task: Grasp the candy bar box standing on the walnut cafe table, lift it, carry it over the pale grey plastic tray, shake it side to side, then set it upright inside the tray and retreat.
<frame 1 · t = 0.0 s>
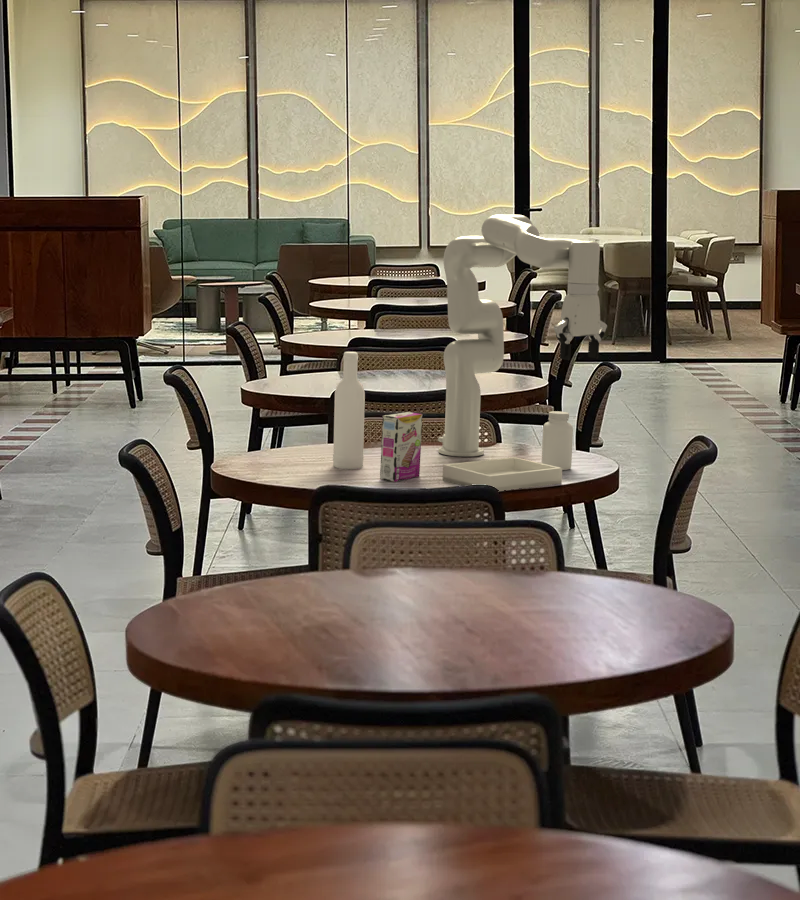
hand: (579, 358, 396), 31 cm above the table, tool pointing down, fingers open, 9 cm apart
bottle: (347, 467, 411), on the table
pill bottle: (556, 469, 418), on the table
tray: (502, 481, 396), on the table
candy bar box: (400, 479, 397), on the table
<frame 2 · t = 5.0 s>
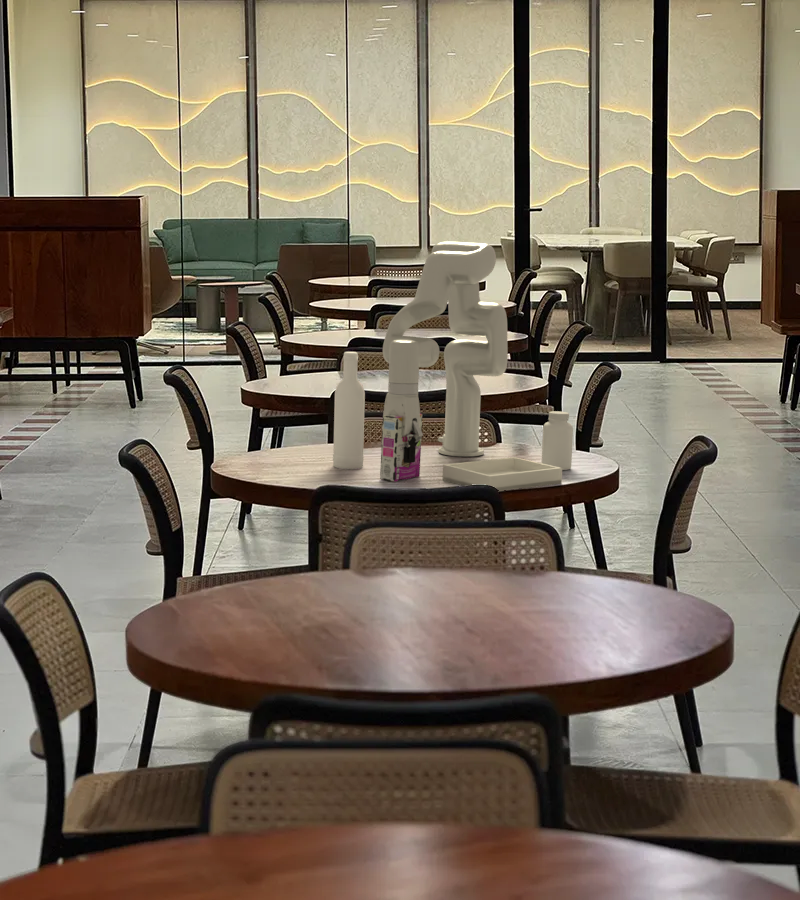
hand: (401, 459, 396), 5 cm above the table, tool pointing down, fingers closed on candy bar box, 6 cm apart
candy bar box: (400, 479, 397), on the table, touching gripper
everything else where it was.
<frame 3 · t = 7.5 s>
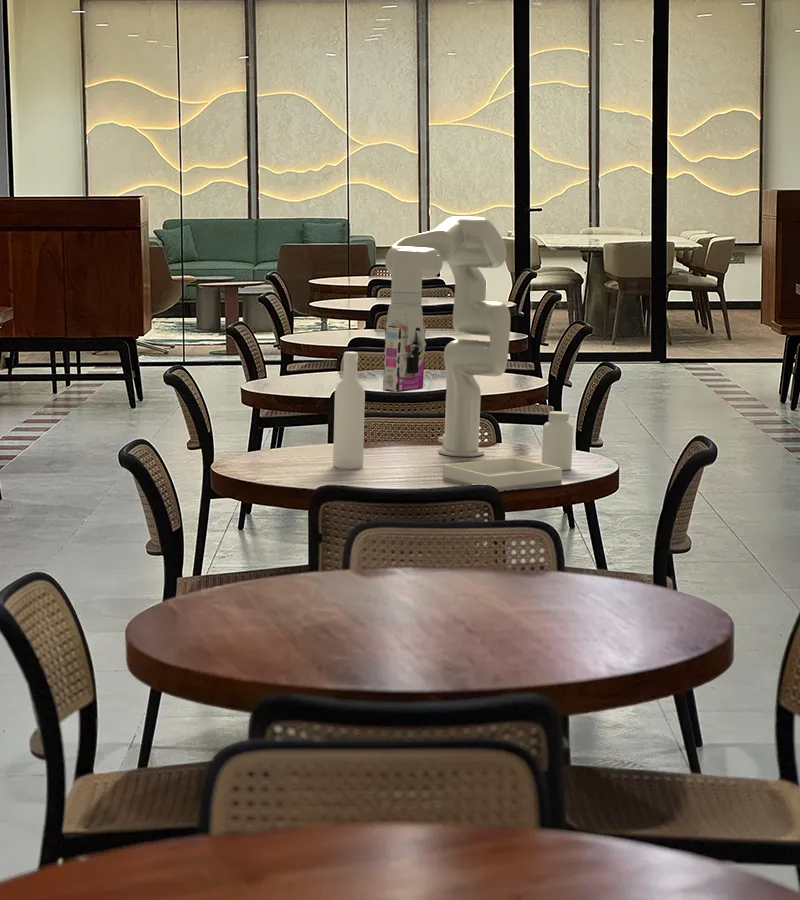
hand: (404, 370, 392), 27 cm above the table, tool pointing down, fingers closed on candy bar box, 6 cm apart
candy bar box: (403, 391, 393), point 22 cm above the table, touching gripper
everything else where it was.
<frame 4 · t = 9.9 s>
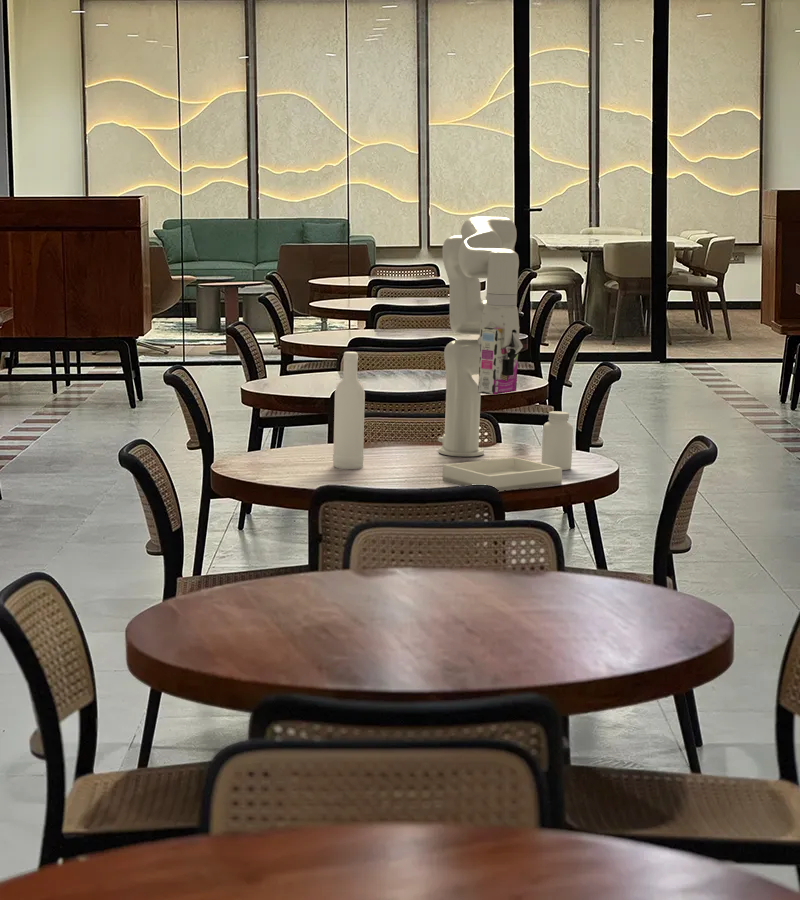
hand: (498, 373, 390), 28 cm above the table, tool pointing down, fingers closed on candy bar box, 6 cm apart
candy bar box: (497, 393, 391), point 23 cm above the table, touching gripper
everything else where it was.
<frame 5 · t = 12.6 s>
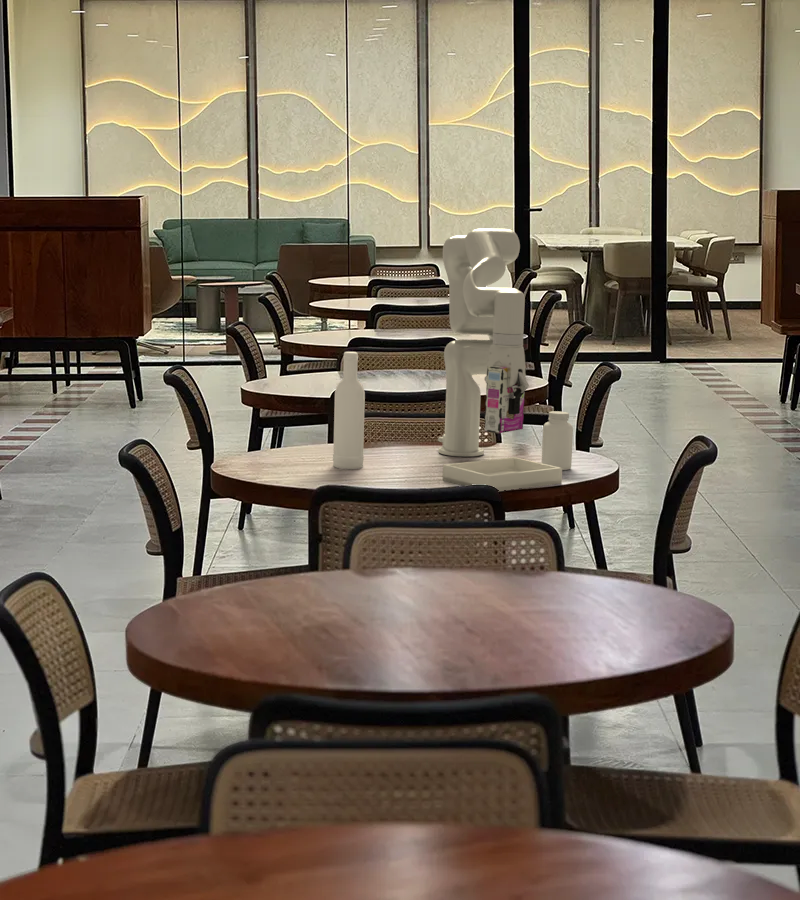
hand: (505, 411, 393), 18 cm above the table, tool pointing down, fingers closed on candy bar box, 6 cm apart
candy bar box: (504, 431, 394), point 13 cm above the table, touching gripper
everything else where it was.
when the fingers open (8 cm above the table, at t = 14.9 s): candy bar box drops 2 cm, resting on tray.
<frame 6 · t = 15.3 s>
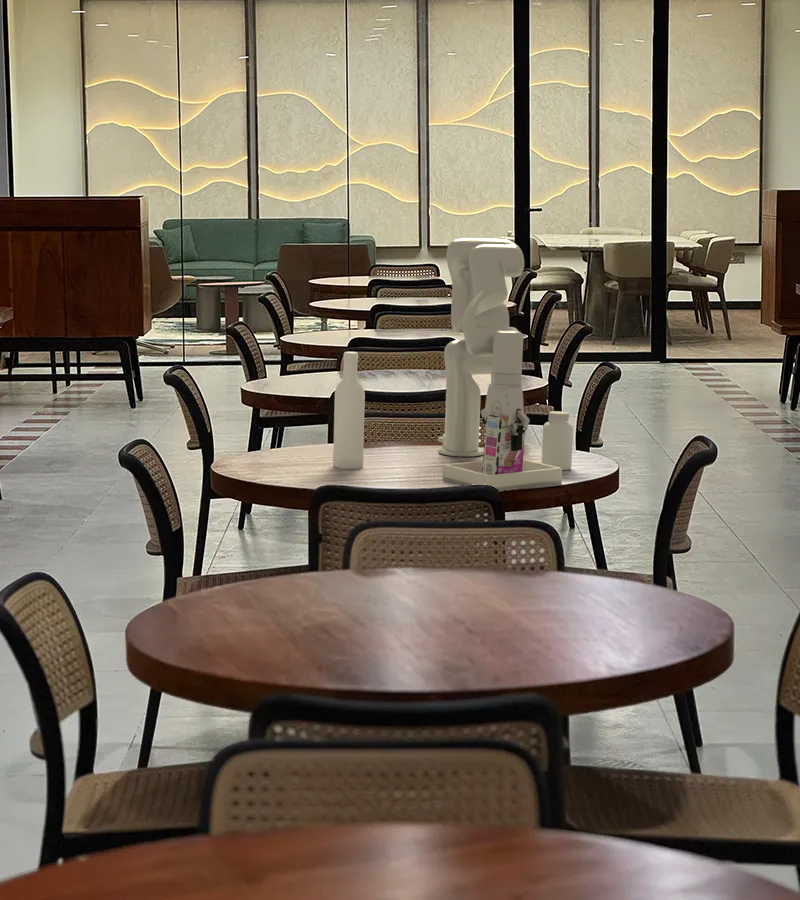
hand: (503, 447, 395), 9 cm above the table, tool pointing down, fingers open, 9 cm apart
candy bar box: (502, 478, 396), point 1 cm above the table, touching tray
everything else where it was.
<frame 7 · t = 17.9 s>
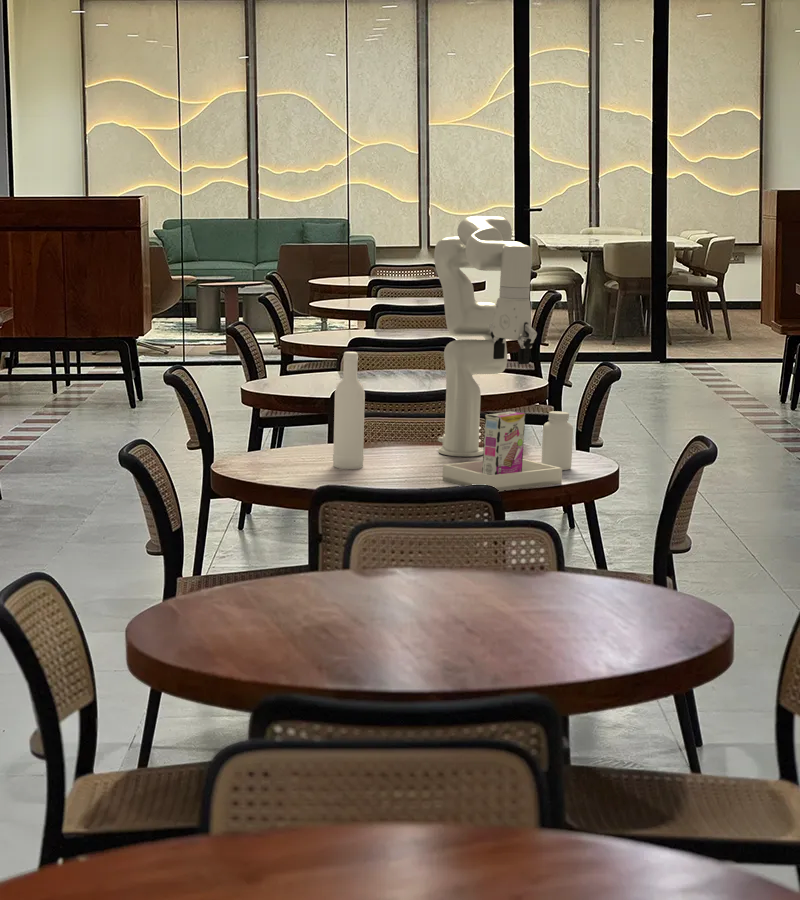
hand: (511, 361, 398), 30 cm above the table, tool pointing down, fingers open, 9 cm apart
nothing on the table moved.
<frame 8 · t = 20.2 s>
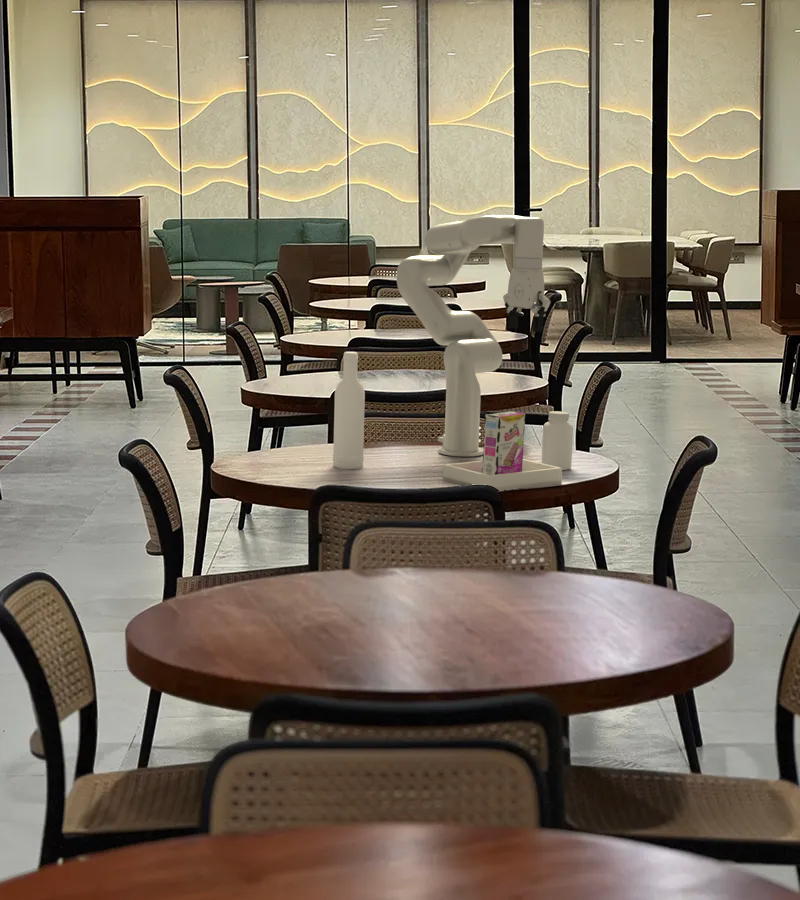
hand: (525, 329, 415), 36 cm above the table, tool pointing down, fingers open, 9 cm apart
nothing on the table moved.
at the end: candy bar box inside the target area on the tray (0.0 cm from its centre), point 0.8 cm above the tray's base; candy bar box tilted 0°; the gripper is holding nothing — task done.
